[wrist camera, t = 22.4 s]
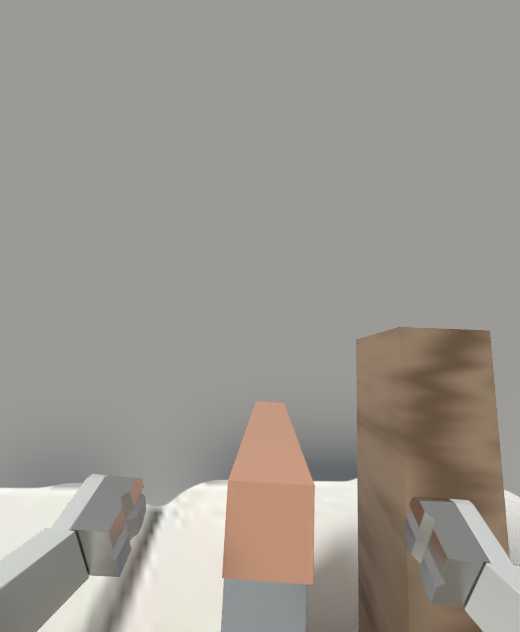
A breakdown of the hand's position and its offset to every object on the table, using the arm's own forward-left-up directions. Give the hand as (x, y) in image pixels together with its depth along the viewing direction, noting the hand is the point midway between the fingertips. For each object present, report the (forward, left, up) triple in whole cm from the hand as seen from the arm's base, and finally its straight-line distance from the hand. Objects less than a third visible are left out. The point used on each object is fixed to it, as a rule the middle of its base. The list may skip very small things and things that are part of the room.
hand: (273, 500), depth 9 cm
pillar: (-11, -15, -19) cm, 27 cm away
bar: (0, -12, -3) cm, 13 cm away
